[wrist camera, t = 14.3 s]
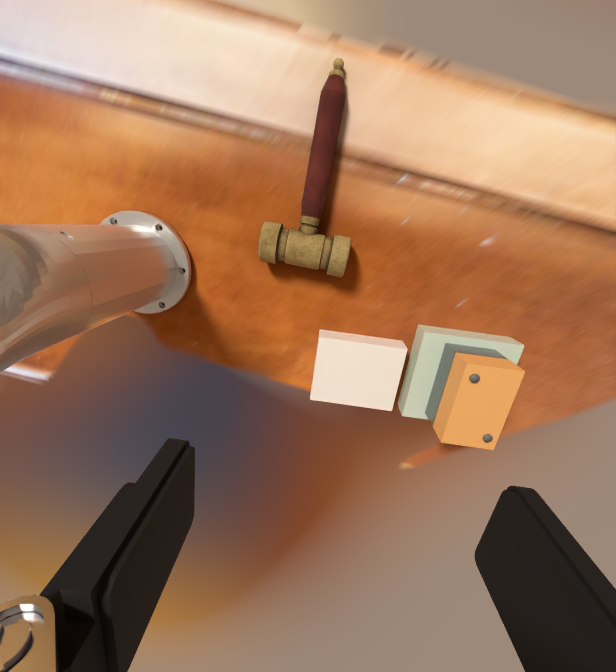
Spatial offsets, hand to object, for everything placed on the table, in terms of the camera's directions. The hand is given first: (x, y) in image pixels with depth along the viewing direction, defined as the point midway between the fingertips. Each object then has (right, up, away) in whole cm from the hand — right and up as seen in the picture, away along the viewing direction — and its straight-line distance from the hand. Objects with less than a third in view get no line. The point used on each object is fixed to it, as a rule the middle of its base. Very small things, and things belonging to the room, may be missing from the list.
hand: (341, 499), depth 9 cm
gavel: (0, +23, +26) cm, 35 cm away
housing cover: (+18, -2, +27) cm, 32 cm away
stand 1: (+5, +1, +33) cm, 34 cm away
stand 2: (+18, 0, +33) cm, 37 cm away
